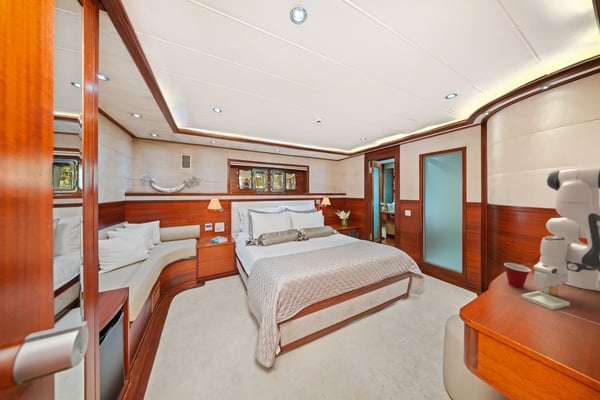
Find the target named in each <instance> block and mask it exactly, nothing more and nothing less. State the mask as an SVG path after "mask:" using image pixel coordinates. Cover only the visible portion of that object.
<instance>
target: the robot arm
mask: <svg viewBox="0 0 600 400" xmlns="http://www.w3.org/2000/svg"><path fill="white" fill-rule="evenodd" d="M545 182H546V184H547V186H548V188H551V189H553V190H554V191H556V192H557V193H556V200H555V211H556V212H557V214H558V215H560V216H561V217H553V218H550V219H549V220H547V222H546V224H545V227H546V229H547V231H548V232H549V233H551V234H552V235H547V236H544V237H543V238H541V239H542V240H541V242H540V250H539V253H540V257H539V261H538V263H536V264H535V265H533V270H534V275H533V282H534V284H535V285H536V286H538V287H541V288H543V291H544V292H545V293H547V294H549V293H551V290H549V288H550V286H553V287H555V288H557V289H558V291H559V289H560V287H561V285H563V284H565V285H568V286H571V287H575V288H579V289H585V290H590V291H597V292H600V270H599V269H600V168H597V167H596V168H595V167H593V168H592V167H590V168H589V167H588V168H587V167H586V168H585V167H583V168H582V167H581V168H574V169H564V170H560V169H559V170H553V171H551V172H549V173H548V174H547V177H546V181H545ZM579 238H582V239H586V240H587V244H586V243H584V242H582V241H580V239H579Z"/></svg>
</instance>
